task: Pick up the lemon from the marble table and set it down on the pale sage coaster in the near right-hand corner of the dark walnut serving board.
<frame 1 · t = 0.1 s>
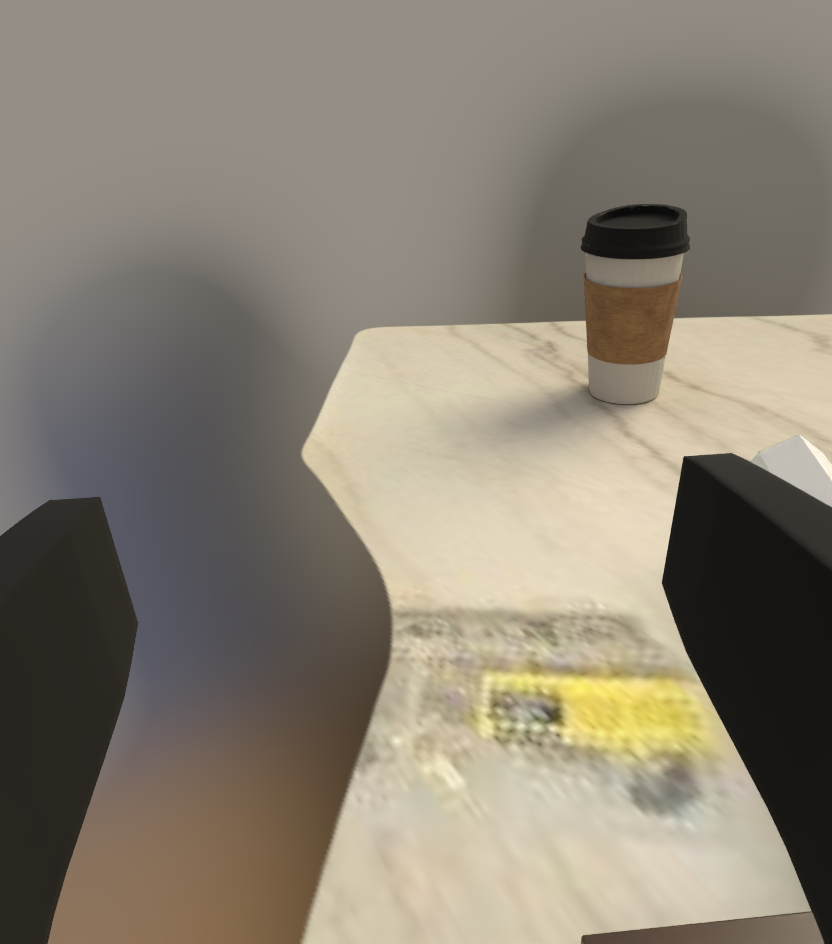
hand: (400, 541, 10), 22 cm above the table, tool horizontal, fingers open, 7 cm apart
coffee cup: (623, 393, 68), on the table
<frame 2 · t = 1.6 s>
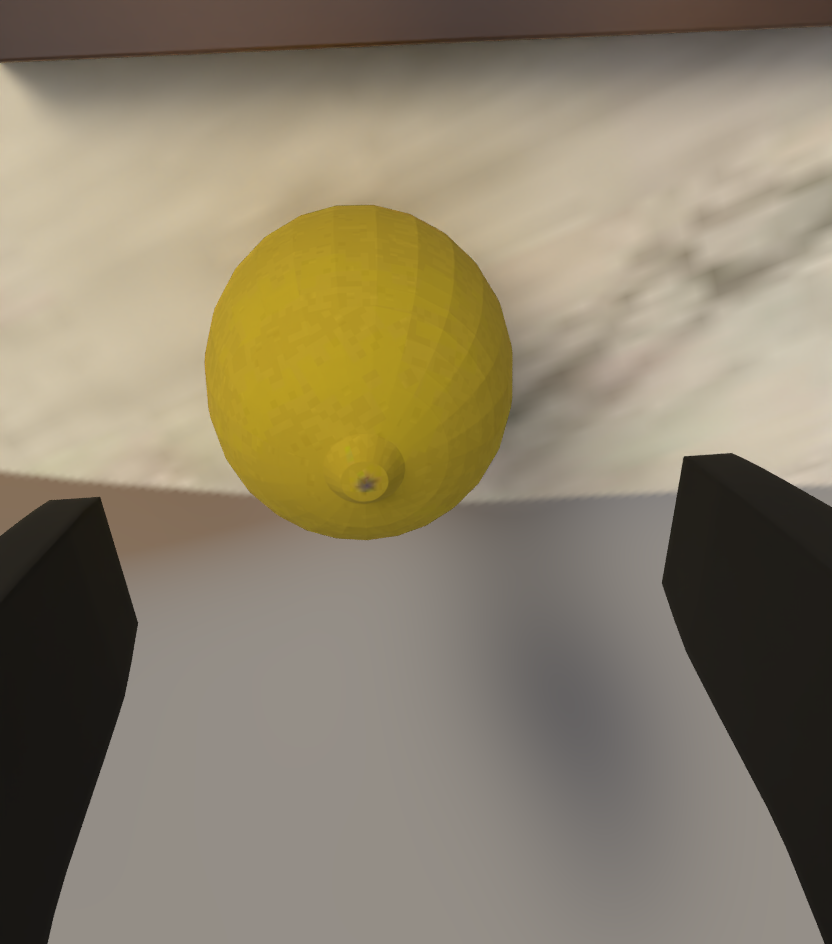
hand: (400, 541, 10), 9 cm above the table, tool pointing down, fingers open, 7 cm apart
lemon: (358, 290, 18), on the table
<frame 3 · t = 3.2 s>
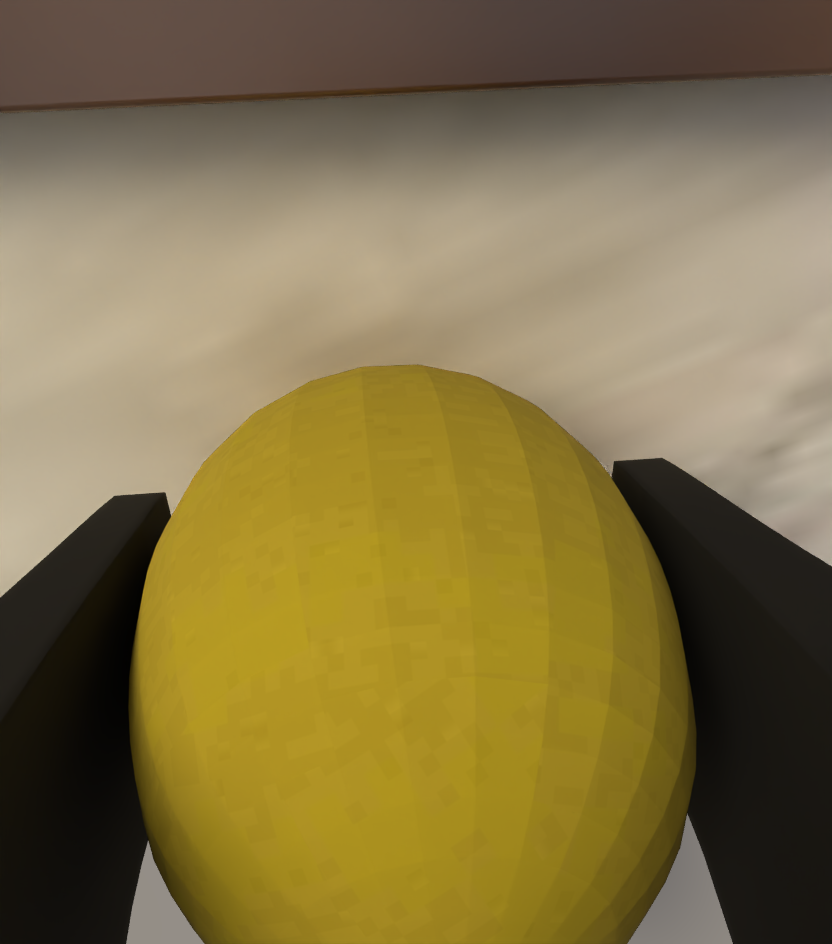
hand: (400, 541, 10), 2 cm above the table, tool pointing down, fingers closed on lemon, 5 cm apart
lemon: (382, 445, 12), on the table, touching gripper
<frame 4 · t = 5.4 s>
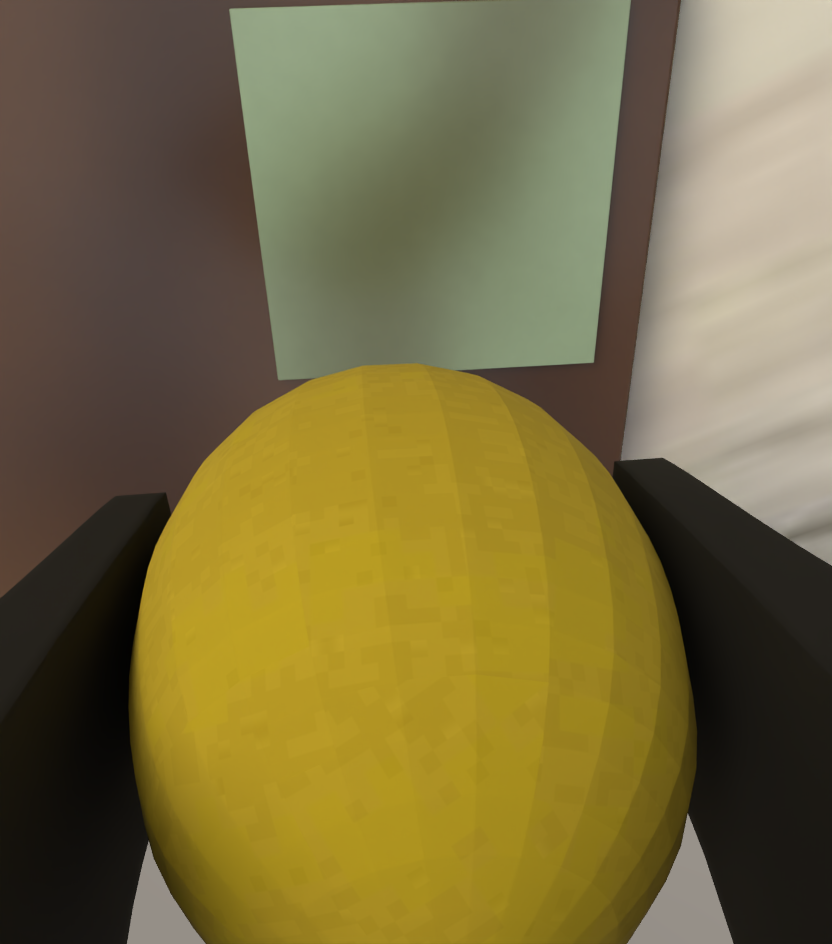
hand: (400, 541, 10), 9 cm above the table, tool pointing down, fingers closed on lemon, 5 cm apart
lemon: (382, 444, 12), point 7 cm above the table, touching gripper
board: (192, 339, 18), on the table
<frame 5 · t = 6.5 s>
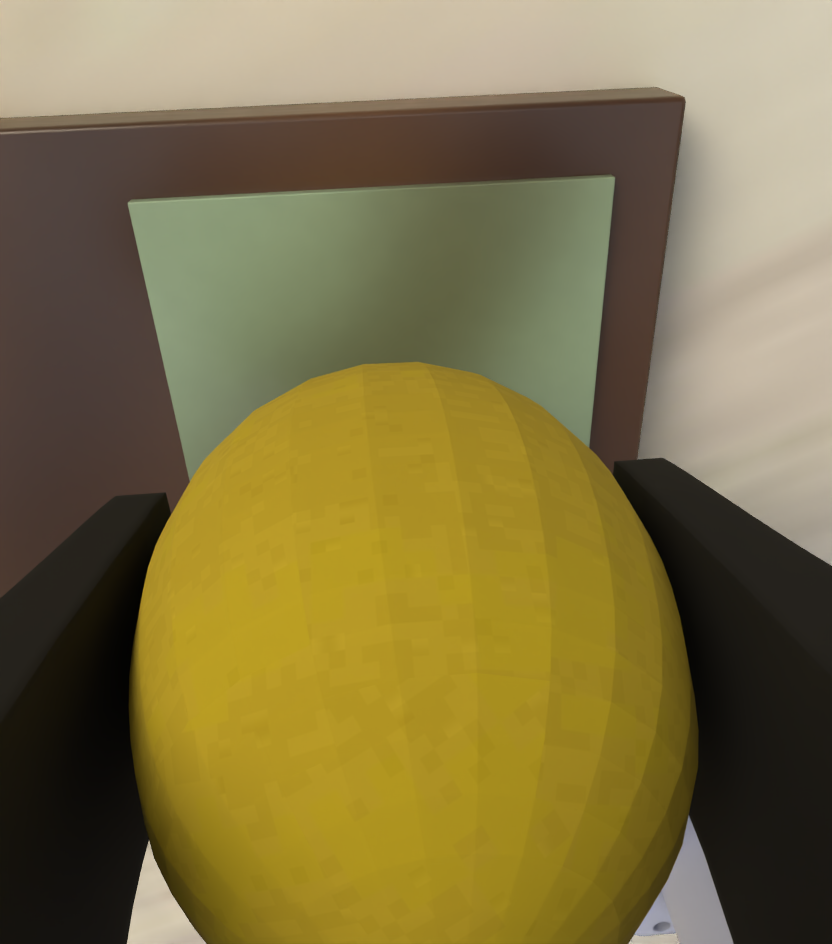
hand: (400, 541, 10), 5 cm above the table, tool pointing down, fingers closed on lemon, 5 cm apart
lemon: (382, 443, 12), point 3 cm above the table, touching gripper
board: (117, 526, 16), on the table
when the fingers open (4 cm above the table, at t = 7.5 s): lemon stays where it is, resting on board.
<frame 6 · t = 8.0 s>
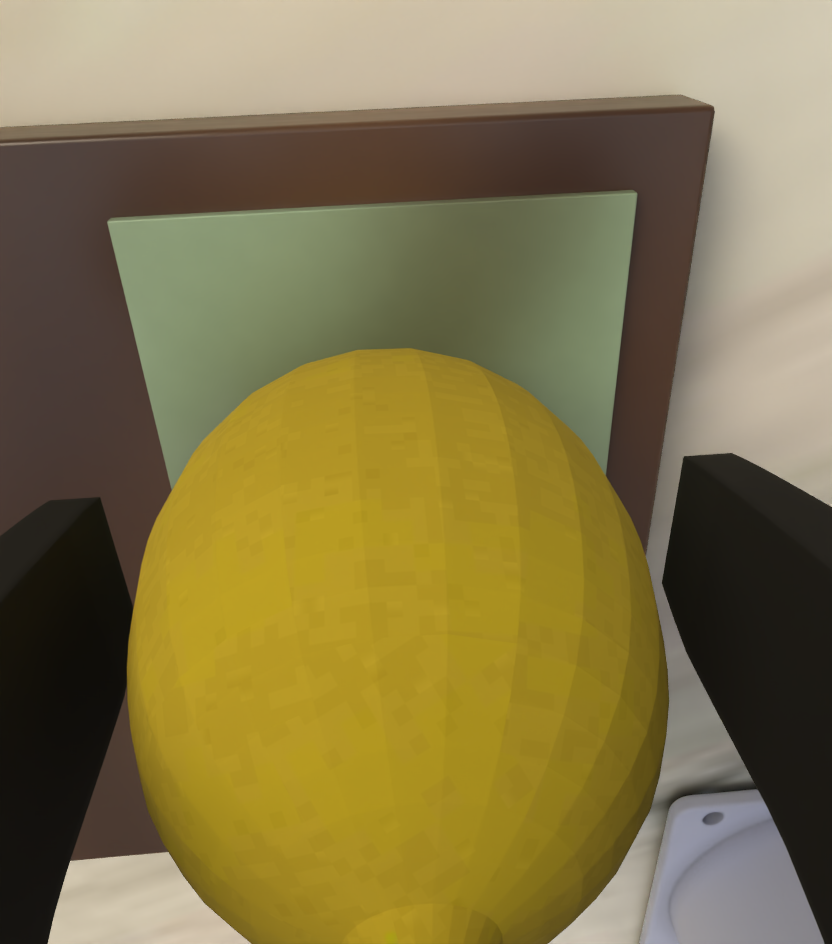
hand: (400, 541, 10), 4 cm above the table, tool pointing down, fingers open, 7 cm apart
lemon: (382, 430, 12), point 1 cm above the table, touching board
board: (102, 559, 15), on the table
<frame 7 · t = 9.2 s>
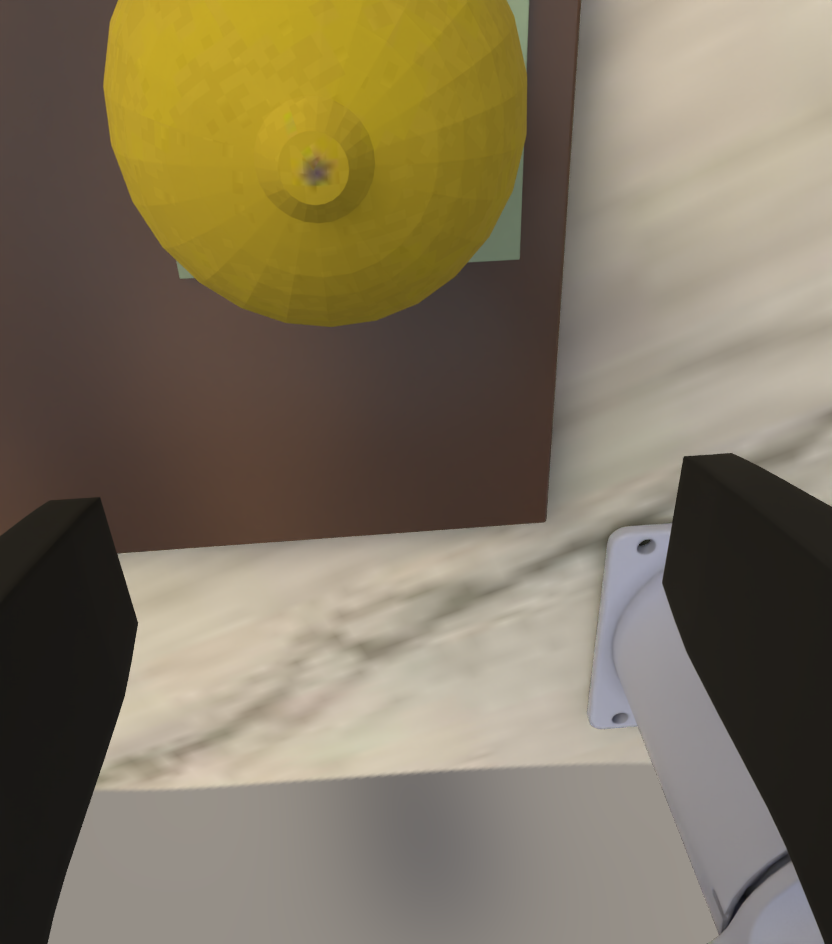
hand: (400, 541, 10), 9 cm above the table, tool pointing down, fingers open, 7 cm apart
lemon: (330, 77, 14), point 1 cm above the table, touching board
board: (92, 240, 17), on the table
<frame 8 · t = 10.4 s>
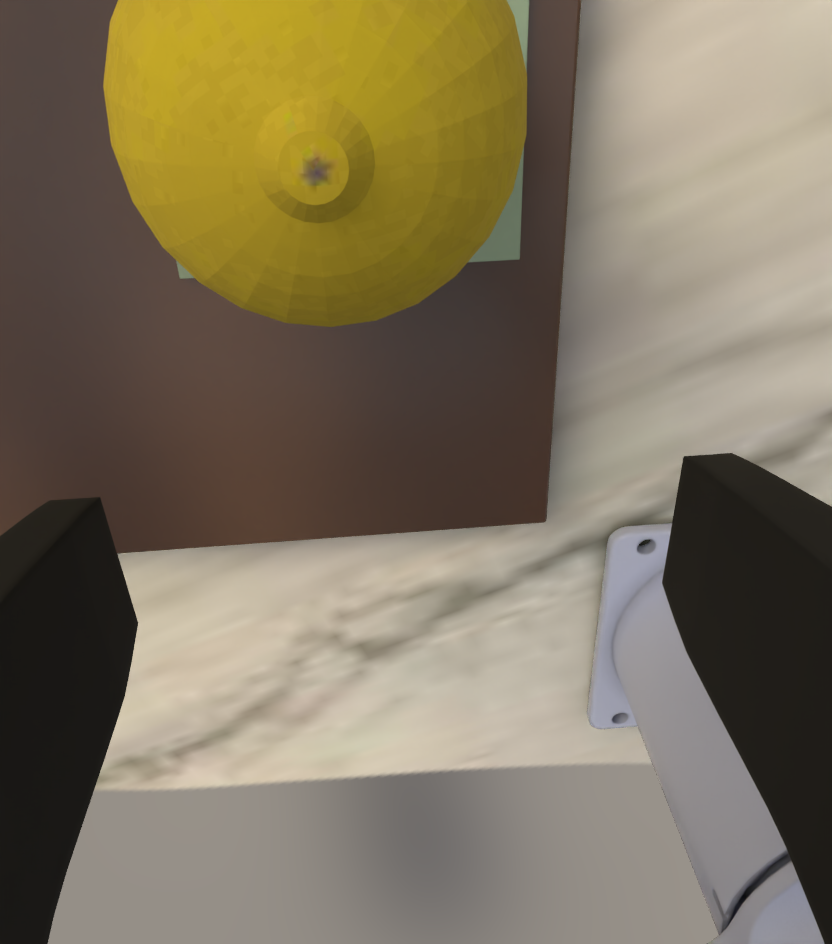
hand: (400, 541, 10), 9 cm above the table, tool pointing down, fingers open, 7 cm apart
lemon: (330, 77, 14), point 1 cm above the table, touching board
board: (92, 240, 17), on the table
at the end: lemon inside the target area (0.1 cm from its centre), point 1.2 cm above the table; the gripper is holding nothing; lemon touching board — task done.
